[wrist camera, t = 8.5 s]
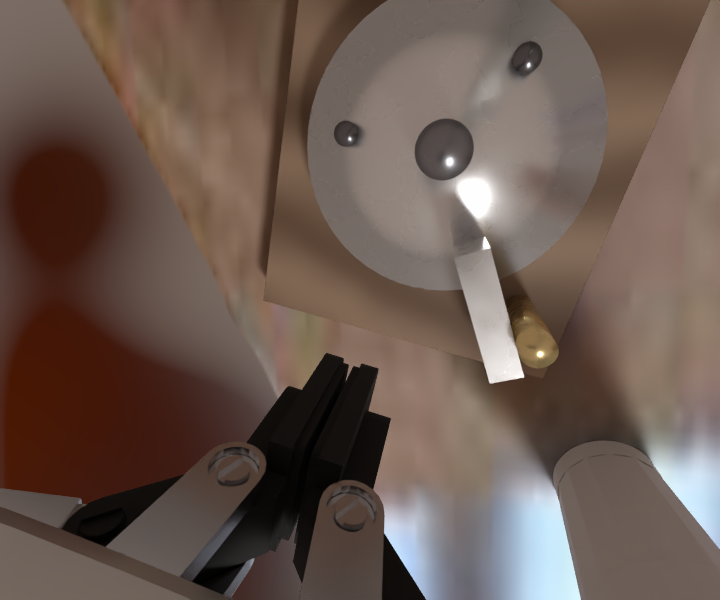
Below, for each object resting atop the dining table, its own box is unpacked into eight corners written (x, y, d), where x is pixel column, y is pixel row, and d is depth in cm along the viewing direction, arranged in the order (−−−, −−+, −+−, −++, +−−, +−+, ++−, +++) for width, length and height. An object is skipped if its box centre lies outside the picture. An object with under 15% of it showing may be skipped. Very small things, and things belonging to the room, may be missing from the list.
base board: (328, -116, 19) (315, -146, 17) (719, -67, 17) (752, -96, 15) (275, 291, 27) (263, 300, 25) (536, 363, 25) (543, 379, 23)
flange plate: (278, 68, 21) (235, 44, 16) (563, -75, 16) (601, -157, 12) (384, 365, 25) (371, 405, 21) (631, 312, 21) (676, 349, 16)
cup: (542, 426, 26) (610, 618, 15) (680, 433, 24) (872, 657, 13) (537, 518, 29) (592, 740, 18) (662, 530, 27) (811, 788, 16)
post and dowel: (413, 145, 20) (401, 138, 15) (455, 118, 20) (457, 101, 14) (509, 326, 22) (527, 374, 17) (551, 309, 22) (582, 353, 16)
